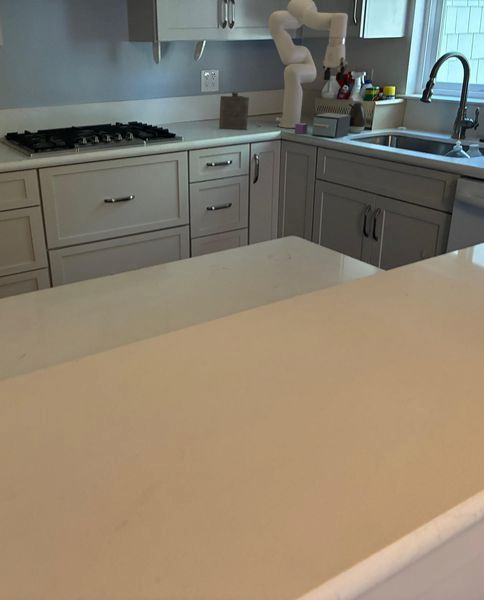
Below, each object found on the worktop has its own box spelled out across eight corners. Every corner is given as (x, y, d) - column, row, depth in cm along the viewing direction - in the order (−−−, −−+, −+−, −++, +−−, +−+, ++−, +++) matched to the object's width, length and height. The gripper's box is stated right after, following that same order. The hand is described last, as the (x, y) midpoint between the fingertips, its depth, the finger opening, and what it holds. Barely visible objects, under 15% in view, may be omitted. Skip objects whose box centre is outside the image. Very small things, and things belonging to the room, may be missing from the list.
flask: (219, 127, 319) (221, 91, 312) (247, 128, 317) (249, 92, 310) (218, 128, 316) (220, 91, 309) (246, 129, 314) (248, 92, 307)
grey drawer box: (336, 138, 297) (338, 117, 293) (312, 135, 304) (314, 115, 300) (348, 135, 308) (350, 115, 304) (325, 132, 315) (327, 112, 311)
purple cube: (294, 133, 309) (295, 123, 307) (298, 132, 312) (299, 122, 310) (302, 134, 307) (303, 124, 305) (306, 133, 310) (307, 123, 308)
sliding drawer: (329, 137, 292) (331, 120, 289) (307, 135, 298) (309, 118, 295) (345, 133, 306) (347, 117, 303) (323, 131, 312) (325, 115, 309)
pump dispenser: (339, 131, 319) (343, 100, 313) (355, 130, 323) (359, 100, 317) (352, 134, 310) (356, 102, 304) (368, 133, 314) (372, 102, 308)
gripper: (319, 41, 294) (315, 79, 301) (342, 41, 280) (338, 81, 287) (331, 42, 297) (328, 79, 304) (355, 42, 283) (351, 81, 290)
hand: (333, 80), depth 295 cm, fingers open, 9 cm apart
